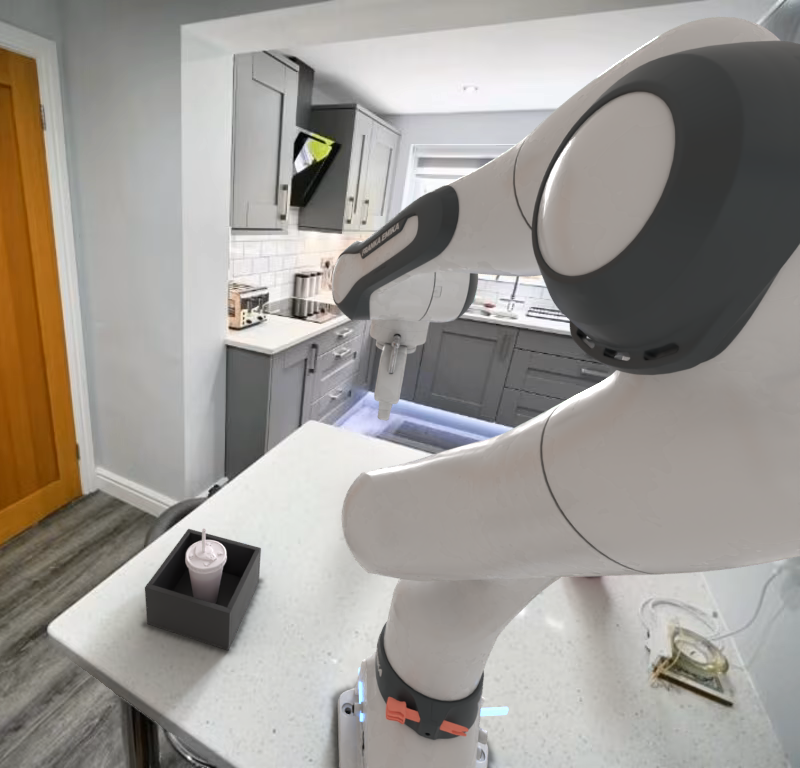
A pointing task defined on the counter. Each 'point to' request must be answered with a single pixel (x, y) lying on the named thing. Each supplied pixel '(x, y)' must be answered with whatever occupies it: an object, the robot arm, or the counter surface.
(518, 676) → the counter surface
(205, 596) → the smoothie
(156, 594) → the basket
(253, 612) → the counter surface
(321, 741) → the counter surface
